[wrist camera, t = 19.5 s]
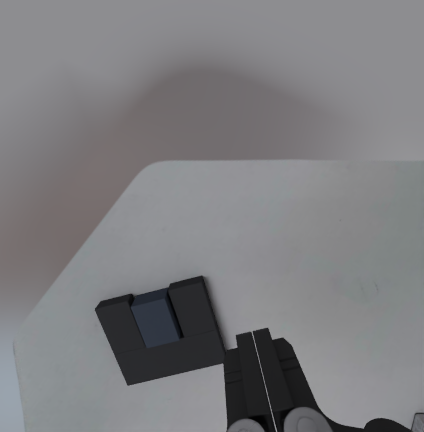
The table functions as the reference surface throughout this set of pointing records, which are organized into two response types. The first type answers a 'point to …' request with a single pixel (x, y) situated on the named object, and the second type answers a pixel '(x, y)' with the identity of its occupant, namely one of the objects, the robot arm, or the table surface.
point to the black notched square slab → (171, 352)
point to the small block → (156, 318)
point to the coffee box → (418, 423)
